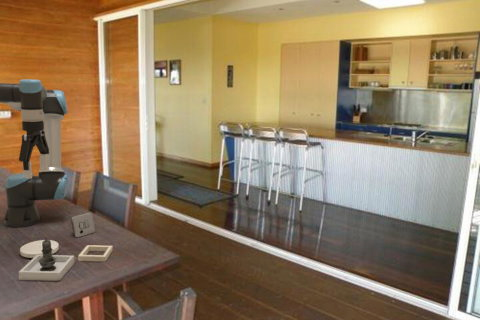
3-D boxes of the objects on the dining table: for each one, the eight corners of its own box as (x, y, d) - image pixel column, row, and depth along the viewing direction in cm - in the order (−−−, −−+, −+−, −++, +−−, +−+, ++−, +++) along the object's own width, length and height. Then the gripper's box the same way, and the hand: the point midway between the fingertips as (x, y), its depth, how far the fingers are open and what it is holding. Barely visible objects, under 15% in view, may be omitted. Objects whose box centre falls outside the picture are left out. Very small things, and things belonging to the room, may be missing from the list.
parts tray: (37, 262, 157) (37, 254, 156) (74, 262, 157) (74, 255, 157) (19, 279, 143) (18, 272, 143) (59, 280, 144) (59, 272, 143)
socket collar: (87, 249, 169) (87, 245, 169) (112, 250, 170) (112, 245, 169) (78, 260, 159) (78, 256, 159) (105, 261, 160) (105, 256, 159)
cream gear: (22, 247, 170) (22, 242, 169) (59, 243, 175) (59, 238, 174) (18, 262, 157) (17, 256, 156) (58, 257, 162) (57, 251, 161)
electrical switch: (76, 238, 181) (74, 217, 179) (70, 236, 184) (68, 216, 182) (95, 232, 188) (93, 213, 186) (89, 230, 191) (87, 211, 190)
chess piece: (42, 265, 153) (40, 234, 151) (59, 265, 153) (57, 235, 151) (36, 272, 147) (34, 241, 145) (53, 272, 148) (51, 241, 145)
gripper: (27, 124, 146) (30, 182, 150) (56, 117, 170) (58, 167, 175) (5, 123, 146) (10, 181, 150) (37, 116, 170) (40, 166, 174)
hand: (36, 173), depth 162 cm, fingers open, 13 cm apart
